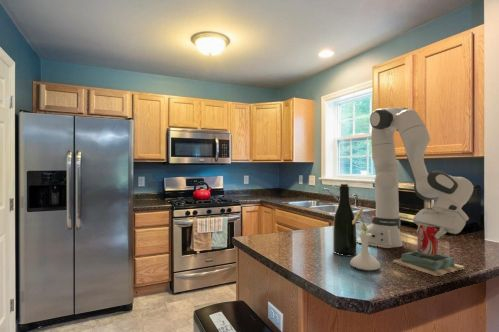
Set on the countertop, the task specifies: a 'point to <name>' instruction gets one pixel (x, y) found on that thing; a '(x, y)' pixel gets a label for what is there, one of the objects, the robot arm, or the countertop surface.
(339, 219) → the dark green wine bottle
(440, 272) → the tray
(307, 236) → the countertop surface
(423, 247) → the soda can
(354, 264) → the flower in vase
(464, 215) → the robot arm
